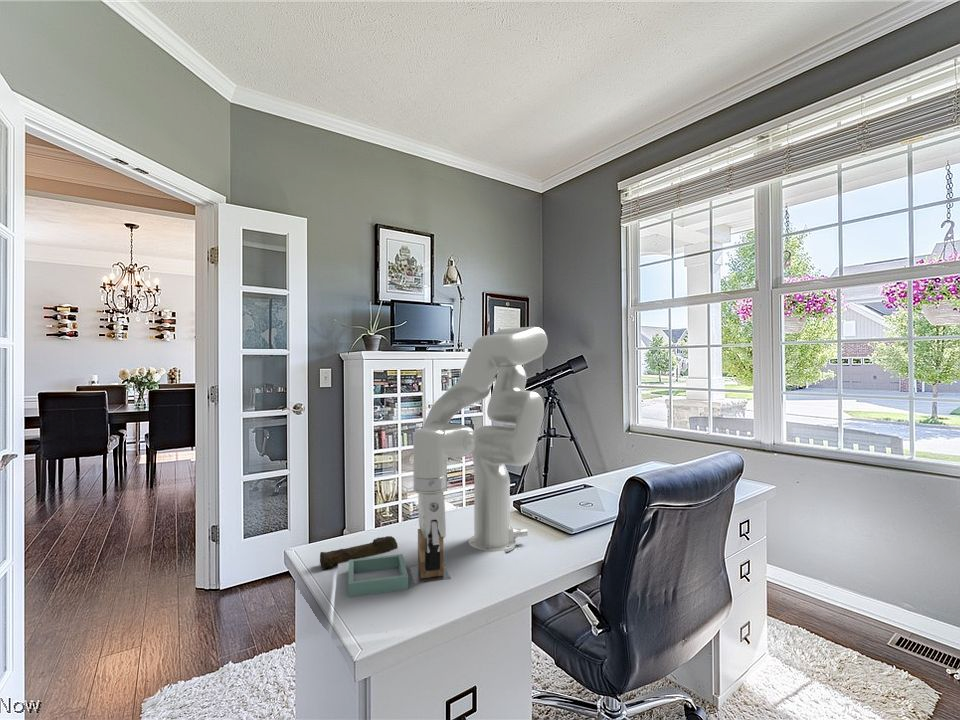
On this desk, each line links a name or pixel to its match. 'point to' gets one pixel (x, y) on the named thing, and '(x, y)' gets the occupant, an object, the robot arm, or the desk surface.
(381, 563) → the bin
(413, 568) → the stud base
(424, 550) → the brown wooden block
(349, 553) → the hand tool
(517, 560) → the desk surface
